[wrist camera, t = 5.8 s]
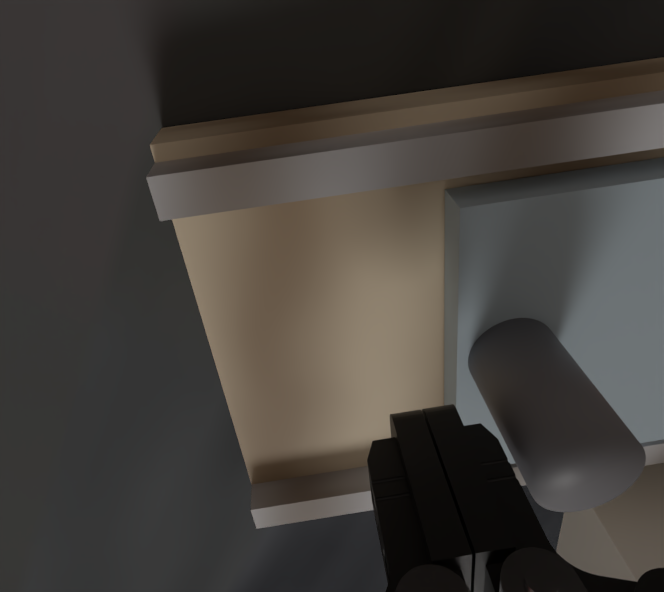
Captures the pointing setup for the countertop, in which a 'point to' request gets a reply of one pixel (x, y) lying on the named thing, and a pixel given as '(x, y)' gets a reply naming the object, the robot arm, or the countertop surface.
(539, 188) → the carriage
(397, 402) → the rail base
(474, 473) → the robot arm
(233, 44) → the countertop surface
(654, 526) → the link block
